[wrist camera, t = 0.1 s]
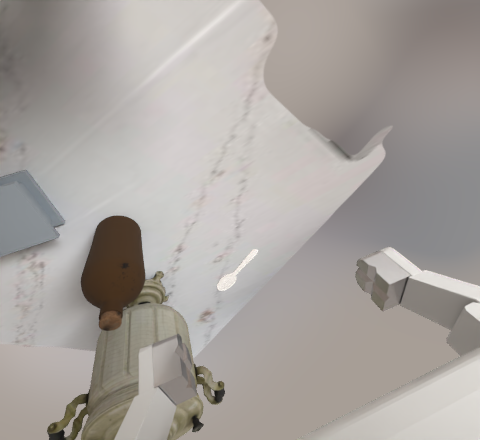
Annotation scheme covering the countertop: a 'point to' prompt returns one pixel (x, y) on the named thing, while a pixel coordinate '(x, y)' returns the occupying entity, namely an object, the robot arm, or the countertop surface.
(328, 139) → the countertop surface
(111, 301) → the olive oil
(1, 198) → the stand
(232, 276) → the spoon
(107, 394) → the samovar
